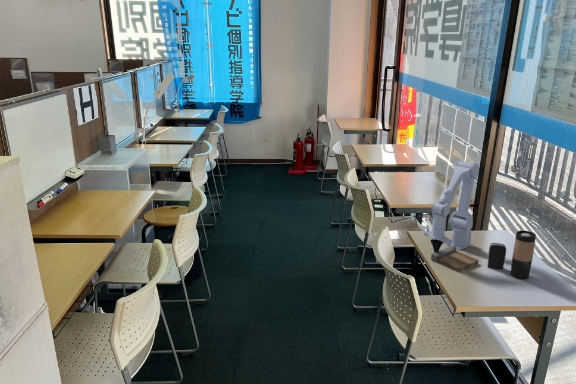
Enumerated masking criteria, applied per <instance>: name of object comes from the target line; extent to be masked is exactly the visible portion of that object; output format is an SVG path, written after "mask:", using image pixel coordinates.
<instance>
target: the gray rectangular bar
mask: <svg viewBox="0 0 576 384" xmlns="http://www.w3.org/2000/svg"><path fill="white" fill-rule="evenodd" d="M453 252H454V249H453V248H451V246H450V247H449V246H448V247H446V248H444V249H443V248H442V249H439V251H438V252H435V253H434V252H433V253H431V255H430V260H431V261H433V262H436V263H437V259H438V258H440V257H443V256H445V255H448V254H450V253H453Z"/></svg>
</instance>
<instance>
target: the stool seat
mask: <svg viewBox="0 0 576 384" xmlns="http://www.w3.org/2000/svg"><path fill="white" fill-rule="evenodd" d="M450 248H453V249H454V252H453V253H450V254H448V255H445V256H443V257H440V258H438V259H437V262H436V264H437V263H438V264H439V265H441V266H444V267H446V268H449V269H451V270H453V271H456V272H457V273H461V272H463V271H466V270H468V269H470V268H473V267H475V266H477V265H478V264H479V259H477V258H474V257H471V256H470V255H467V254H465V253H463V252H460V251H458V250H457V248H456V246H455V245H451V246H450Z"/></svg>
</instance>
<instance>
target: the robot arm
mask: <svg viewBox="0 0 576 384" xmlns="http://www.w3.org/2000/svg"><path fill="white" fill-rule="evenodd" d="M479 170H480V166H479V164H478V163H476V162H470V161H464V160H459V159H458V160H456V161H455V163H454V166H453V175H452V178H451V180H450V182H449V185H448V187H447V188H444V190H443V191H442V192H441V193H440V196H439V198H438V200H437V201H436V202H433V204H432V206H431V215H432V226H431V227H432V229H431V231H429V230H425V231H423V232H424V233H423V235H424V236H425V237H426V236H427V237H429V238H430V243H431V245H432V249H433V253H435V252H438V251H440V250H441V249H440V248H441V247H442V246H443V244H444V243H445V244H446V245H448V246H450V247H451V245H455V246H456V250H459V251H461V250H464V249H467V248H468V247H469V248H470V247H471V246H472V244H471V241H472V231H471V230H472V228H473V222H474V221H473V219H474V216H473V214H471V212H470V211H469V210H470V209H469V208H470V205H471V199H472V195H473V189H474V183H475V180H477V179H478V176H479ZM461 183H462V185H461V190H460V194H459V195H460V196H459V201H458V205H457V210H455V211H453V212H452V213H451V216H450V218H449V222H448V223H449V226H450V227H451V229H452V231H451V232H452V233H451V239H449V237H447V236H446V235H445V233H446V223H447V217H448V215H449V214H450V211H451V207H452V205H451V204H453V203H452V202H453V201H454V199H455V197H456V190H457V189H458V187H459V186H460V184H461Z"/></svg>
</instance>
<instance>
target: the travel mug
mask: <svg viewBox="0 0 576 384" xmlns="http://www.w3.org/2000/svg"><path fill="white" fill-rule="evenodd" d="M536 238H537V235H536V233H535V232H532V231H529V230H523V229H522V230H517V231H516V234H515V239H514V244H513V245H514V246H513V252H512V258H511V267H510V275H511V277H512V278H514V279H517V280H527V279H529V277H530V273H531V268H532V263H533V259H534V258H533V257H534V251H535V246H536V245H535V244H536Z"/></svg>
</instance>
